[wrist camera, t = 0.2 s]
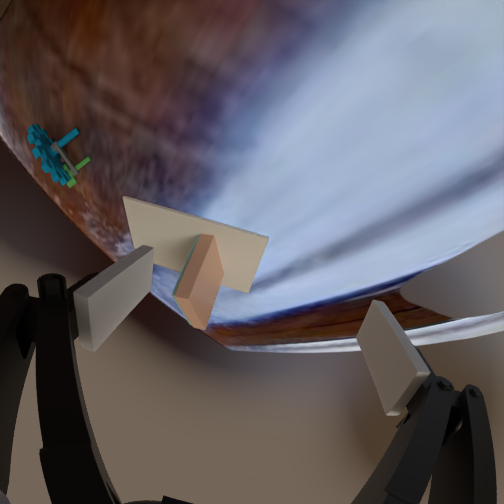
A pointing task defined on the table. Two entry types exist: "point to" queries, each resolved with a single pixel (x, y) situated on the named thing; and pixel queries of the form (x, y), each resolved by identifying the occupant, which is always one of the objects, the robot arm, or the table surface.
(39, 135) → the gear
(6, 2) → the dark hardcover book
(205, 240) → the tile
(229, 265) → the felt mat
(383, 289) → the table surface
